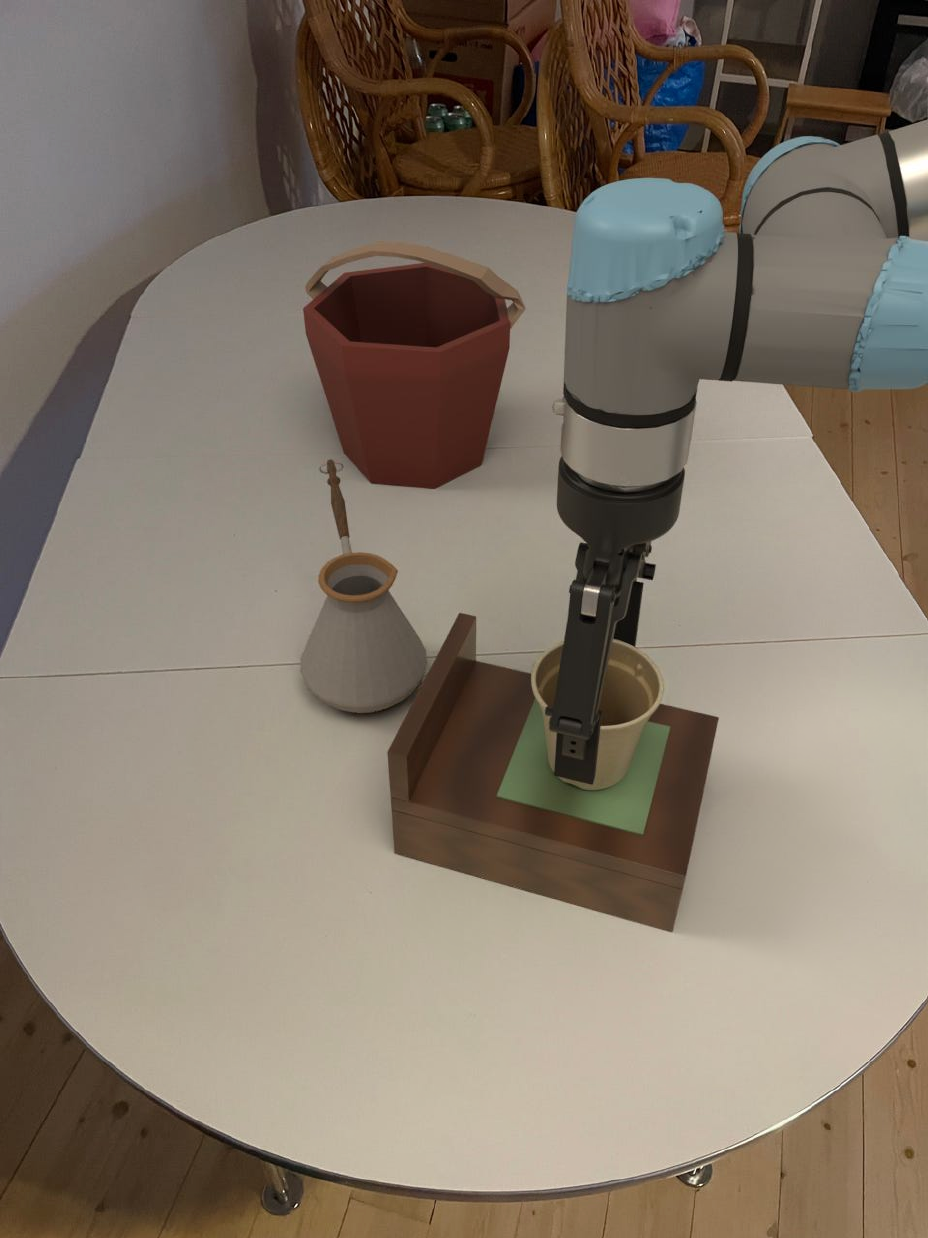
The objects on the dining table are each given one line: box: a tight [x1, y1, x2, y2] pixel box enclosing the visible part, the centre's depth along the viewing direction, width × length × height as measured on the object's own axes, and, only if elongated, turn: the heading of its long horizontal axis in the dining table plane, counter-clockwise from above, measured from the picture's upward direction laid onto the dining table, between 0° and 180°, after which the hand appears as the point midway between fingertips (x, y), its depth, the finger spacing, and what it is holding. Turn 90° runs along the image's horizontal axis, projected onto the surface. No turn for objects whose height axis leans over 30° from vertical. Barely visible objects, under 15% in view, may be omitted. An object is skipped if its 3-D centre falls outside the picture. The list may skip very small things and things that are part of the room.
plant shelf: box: [386, 612, 719, 933], centre depth 81 cm, size 22×16×12 cm
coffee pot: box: [299, 458, 428, 714], centre depth 95 cm, size 21×12×15 cm, turn 13°
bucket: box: [302, 240, 527, 490], centre depth 117 cm, size 24×22×25 cm
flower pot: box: [531, 639, 665, 790], centre depth 77 cm, size 9×9×9 cm
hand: (597, 708), depth 76 cm, fingers open, 13 cm apart
